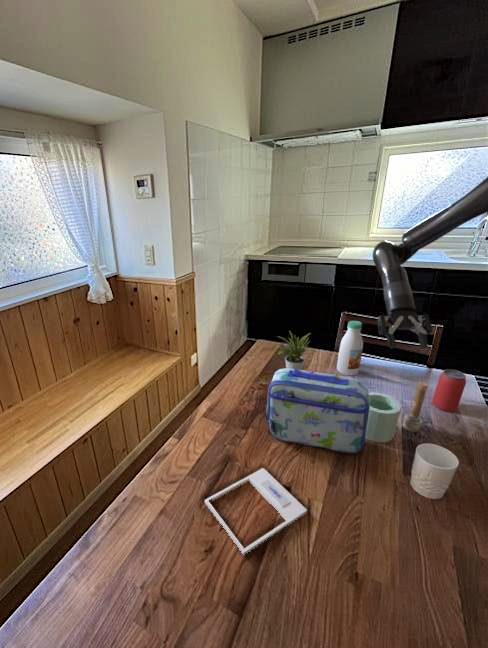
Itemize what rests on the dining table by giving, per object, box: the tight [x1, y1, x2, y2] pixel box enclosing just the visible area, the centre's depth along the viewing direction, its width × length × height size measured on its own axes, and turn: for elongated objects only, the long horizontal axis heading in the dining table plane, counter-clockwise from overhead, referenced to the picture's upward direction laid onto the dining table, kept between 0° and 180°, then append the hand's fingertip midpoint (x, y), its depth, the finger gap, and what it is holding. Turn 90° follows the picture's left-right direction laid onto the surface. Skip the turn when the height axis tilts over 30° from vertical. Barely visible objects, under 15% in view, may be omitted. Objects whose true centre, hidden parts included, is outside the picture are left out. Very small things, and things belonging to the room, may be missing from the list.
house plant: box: [274, 330, 312, 370], centre depth 127 cm, size 14×14×16 cm
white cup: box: [409, 442, 460, 500], centre depth 78 cm, size 8×8×10 cm
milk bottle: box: [336, 320, 364, 376], centre depth 125 cm, size 8×8×20 cm
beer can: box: [431, 368, 467, 412], centre depth 104 cm, size 7×7×12 cm
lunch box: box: [265, 367, 370, 454], centre depth 93 cm, size 26×11×21 cm, turn 65°
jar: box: [365, 391, 402, 443], centre depth 96 cm, size 10×10×10 cm
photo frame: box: [204, 467, 308, 557], centre depth 77 cm, size 15×1×18 cm
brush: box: [402, 381, 429, 433], centre depth 96 cm, size 4×4×15 cm
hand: (408, 347), depth 100 cm, fingers open, 8 cm apart
